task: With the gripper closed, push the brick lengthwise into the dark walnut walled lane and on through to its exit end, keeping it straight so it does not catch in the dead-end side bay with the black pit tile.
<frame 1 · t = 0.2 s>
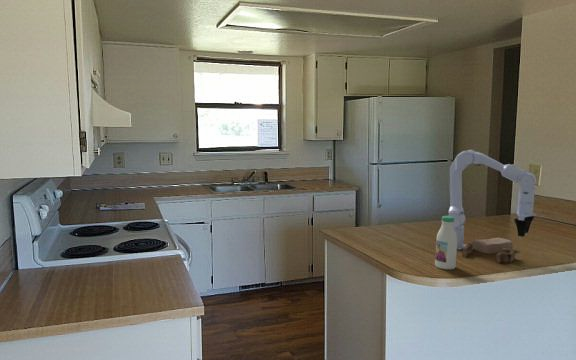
hand: (523, 234, 185), 10 cm above the worktop, tool pointing down, fingers open, 7 cm apart
brick: (491, 250, 198), on the worktop
milk bottle: (445, 267, 174), on the worktop
tunnel: (488, 253, 186), on the worktop
trap pit: (504, 259, 184), on the worktop
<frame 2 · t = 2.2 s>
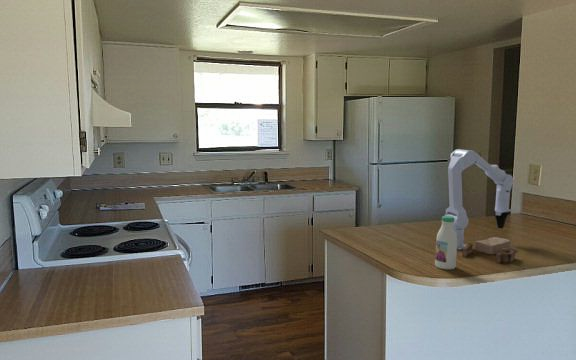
hand: (500, 228, 208), 7 cm above the worktop, tool pointing down, fingers closed
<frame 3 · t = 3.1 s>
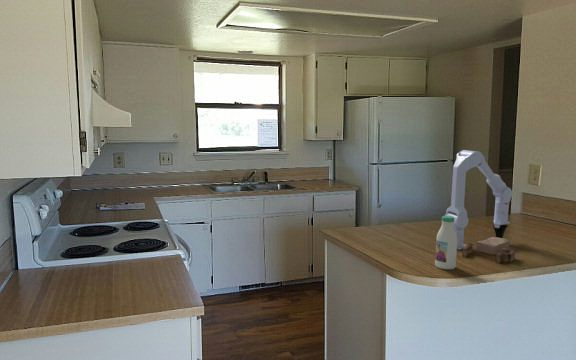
hand: (499, 240, 209), 1 cm above the worktop, tool pointing down, fingers closed
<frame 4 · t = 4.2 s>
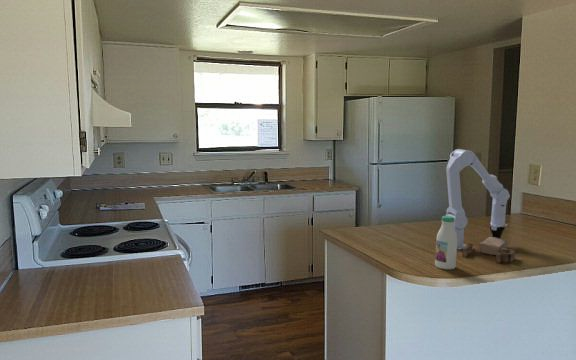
hand: (496, 242, 204), 1 cm above the worktop, tool pointing down, fingers closed
brick: (493, 251, 196), on the worktop, touching gripper
everything else where it was.
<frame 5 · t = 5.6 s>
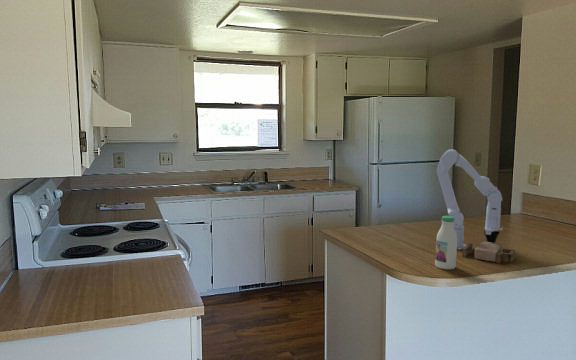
hand: (490, 247, 196), 1 cm above the worktop, tool pointing down, fingers closed
brick: (488, 256, 188), on the worktop, touching gripper
everything else where it was.
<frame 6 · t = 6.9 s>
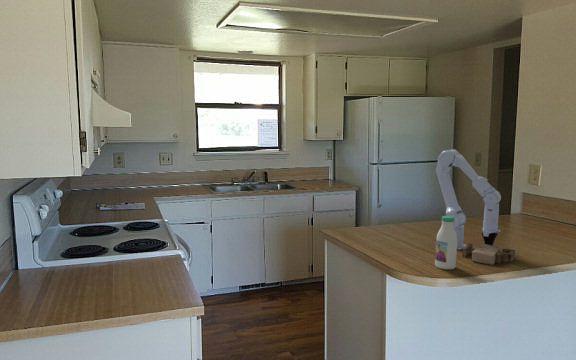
hand: (488, 249, 193), 1 cm above the worktop, tool pointing down, fingers closed
brick: (485, 259, 185), on the worktop
everything else where it was.
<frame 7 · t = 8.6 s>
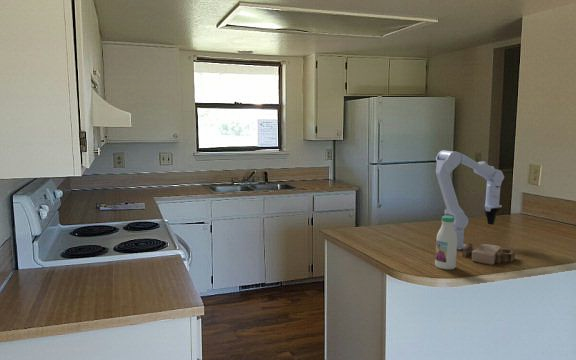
hand: (490, 224, 205), 9 cm above the worktop, tool pointing down, fingers closed
nothing on the worktop moved.
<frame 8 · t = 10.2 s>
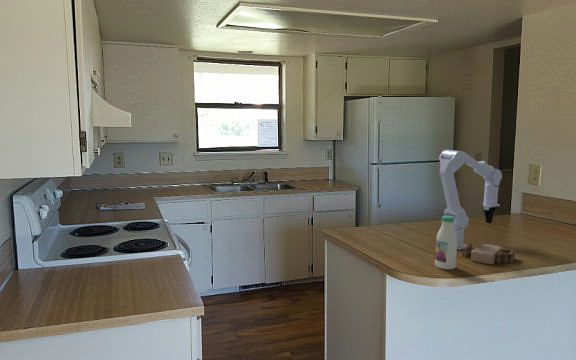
hand: (488, 222, 208), 9 cm above the worktop, tool pointing down, fingers closed
nothing on the worktop moved.
at the end: brick inside the target area (1.8 cm from its centre), on the worktop; brick on the worktop; brick moved 15.3 cm from its start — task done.
